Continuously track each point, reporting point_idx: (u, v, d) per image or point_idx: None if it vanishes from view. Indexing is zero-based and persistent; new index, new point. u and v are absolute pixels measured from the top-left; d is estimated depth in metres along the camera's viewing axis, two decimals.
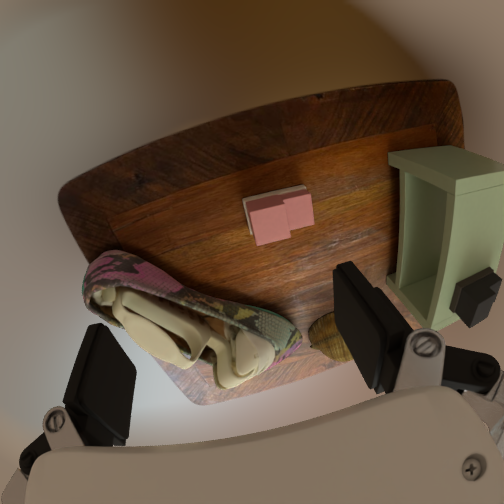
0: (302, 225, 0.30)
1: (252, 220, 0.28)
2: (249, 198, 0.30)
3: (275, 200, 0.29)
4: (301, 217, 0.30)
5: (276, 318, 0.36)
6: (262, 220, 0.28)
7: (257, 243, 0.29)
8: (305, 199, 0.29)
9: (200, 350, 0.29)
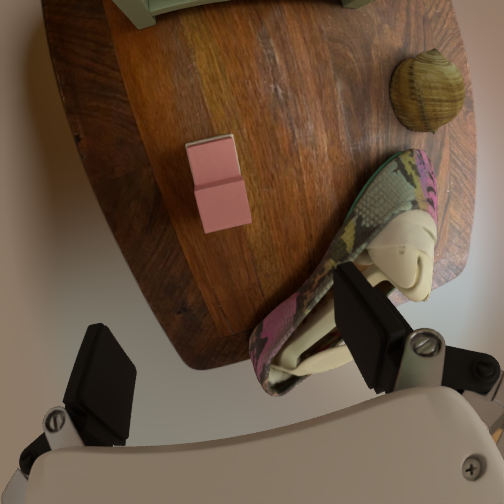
0: (233, 155, 0.21)
1: (215, 229, 0.22)
2: None
3: None
4: (221, 157, 0.21)
5: (371, 187, 0.24)
6: (216, 218, 0.22)
7: (248, 222, 0.22)
8: (195, 154, 0.21)
9: None
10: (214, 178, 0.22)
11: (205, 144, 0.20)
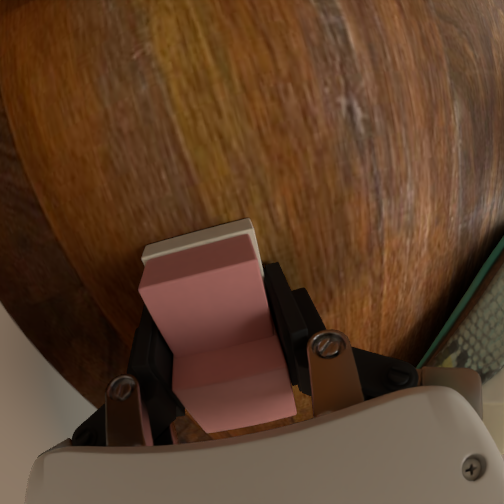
0: (258, 299, 0.09)
1: (226, 429, 0.10)
2: None
3: None
4: (228, 306, 0.09)
5: (487, 302, 0.11)
6: (227, 419, 0.09)
7: (289, 415, 0.10)
8: (161, 303, 0.08)
9: None
10: (215, 345, 0.09)
11: (184, 279, 0.08)
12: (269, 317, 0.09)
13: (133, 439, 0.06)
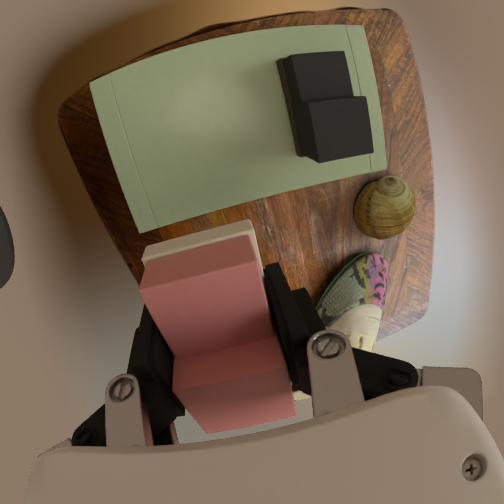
0: (259, 300, 0.09)
1: (227, 429, 0.10)
2: None
3: None
4: (228, 307, 0.09)
5: (334, 288, 0.37)
6: (227, 419, 0.09)
7: (289, 416, 0.10)
8: (161, 304, 0.08)
9: None
10: (216, 346, 0.09)
11: (184, 280, 0.08)
12: (269, 318, 0.09)
13: (133, 439, 0.06)
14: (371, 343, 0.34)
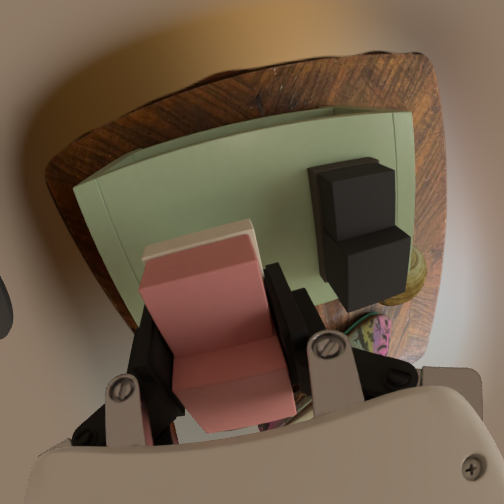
0: (259, 299, 0.09)
1: (227, 429, 0.10)
2: None
3: None
4: (228, 307, 0.09)
5: None
6: (227, 419, 0.09)
7: (289, 415, 0.10)
8: (161, 303, 0.08)
9: None
10: (215, 345, 0.09)
11: (184, 279, 0.08)
12: (269, 317, 0.09)
13: (133, 439, 0.06)
14: None
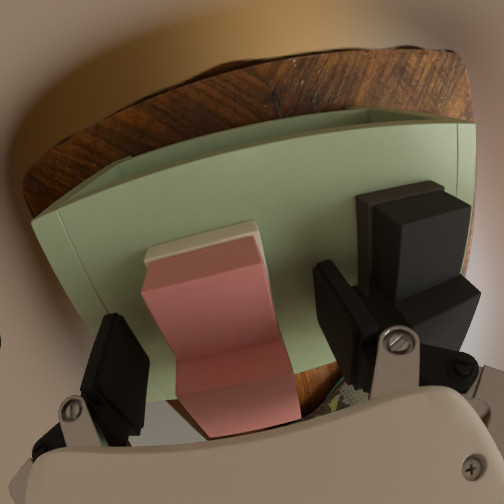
0: (264, 303, 0.08)
1: (230, 433, 0.10)
2: None
3: None
4: (233, 311, 0.08)
5: None
6: (231, 424, 0.09)
7: (294, 419, 0.10)
8: (164, 307, 0.08)
9: None
10: (219, 349, 0.09)
11: (188, 283, 0.08)
12: (275, 321, 0.09)
13: None
14: None
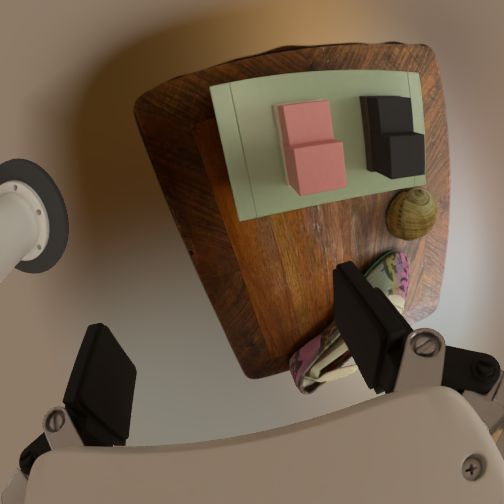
0: (328, 117, 0.19)
1: (311, 192, 0.20)
2: (286, 177, 0.23)
3: (289, 154, 0.20)
4: (317, 119, 0.19)
5: None
6: (313, 180, 0.20)
7: (343, 186, 0.20)
8: (291, 113, 0.19)
9: None
10: (309, 139, 0.20)
11: (301, 103, 0.18)
12: None
13: None
14: None
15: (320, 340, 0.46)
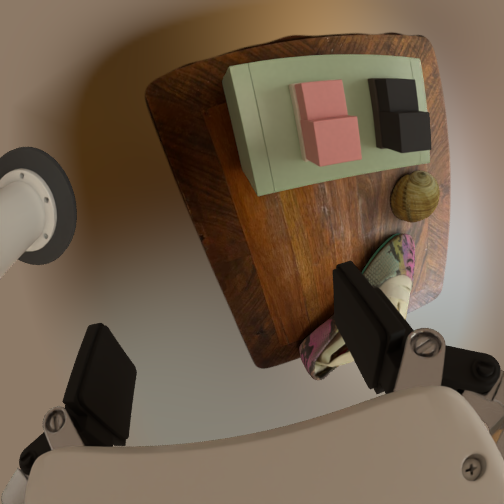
0: (342, 95, 0.19)
1: (330, 163, 0.21)
2: (302, 153, 0.24)
3: (307, 128, 0.21)
4: (332, 96, 0.19)
5: (374, 262, 0.43)
6: (332, 151, 0.20)
7: (358, 158, 0.21)
8: (308, 90, 0.19)
9: None
10: (325, 115, 0.20)
11: (318, 82, 0.19)
12: None
13: None
14: (405, 309, 0.40)
15: (330, 324, 0.46)
